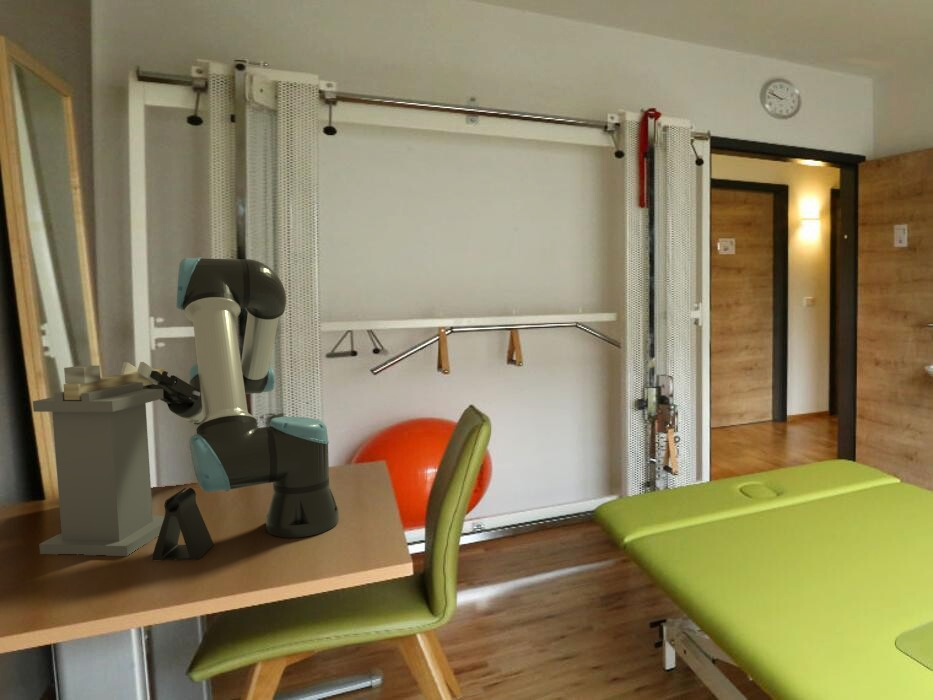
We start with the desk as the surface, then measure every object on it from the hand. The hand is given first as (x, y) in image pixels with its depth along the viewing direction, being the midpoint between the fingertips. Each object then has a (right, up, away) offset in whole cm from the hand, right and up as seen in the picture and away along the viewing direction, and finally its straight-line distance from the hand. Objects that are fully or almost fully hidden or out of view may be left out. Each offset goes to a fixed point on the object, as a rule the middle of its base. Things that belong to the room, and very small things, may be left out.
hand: (132, 367), depth 120 cm
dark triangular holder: (+18, -36, -14) cm, 42 cm away
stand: (0, -35, -6) cm, 36 cm away
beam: (0, -5, -3) cm, 6 cm away
